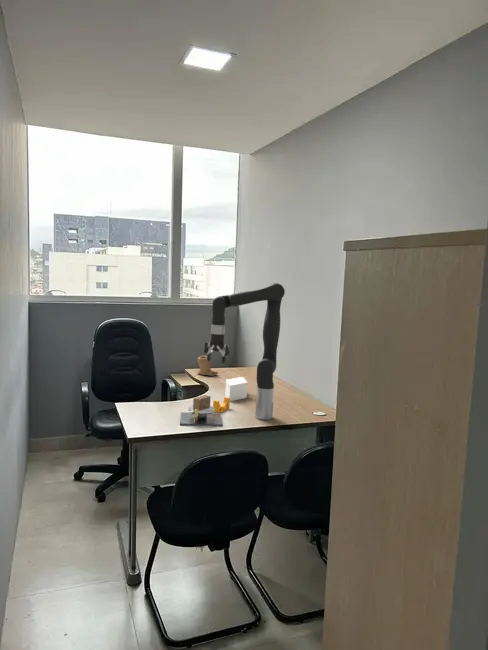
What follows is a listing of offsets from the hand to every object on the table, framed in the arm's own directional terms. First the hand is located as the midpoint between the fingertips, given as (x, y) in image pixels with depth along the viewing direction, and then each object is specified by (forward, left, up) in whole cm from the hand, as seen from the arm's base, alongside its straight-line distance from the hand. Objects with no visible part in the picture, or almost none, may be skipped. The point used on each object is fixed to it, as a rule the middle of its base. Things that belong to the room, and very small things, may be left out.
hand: (216, 361), depth 273 cm
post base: (+7, +10, -30) cm, 32 cm away
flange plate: (+8, +11, -25) cm, 29 cm away
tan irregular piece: (+2, -107, -30) cm, 111 cm away
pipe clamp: (-6, -11, -30) cm, 33 cm away
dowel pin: (+10, +18, -30) cm, 36 cm away
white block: (-16, -44, -30) cm, 56 cm away
